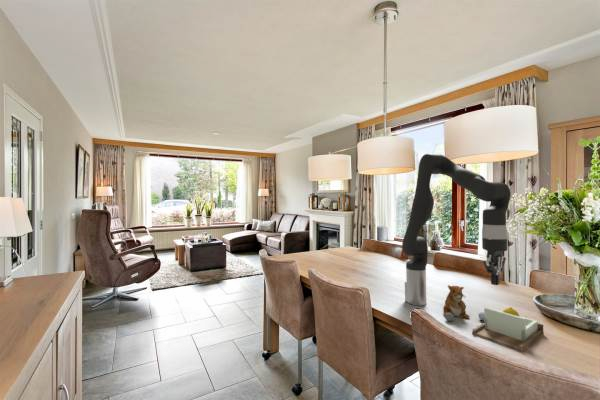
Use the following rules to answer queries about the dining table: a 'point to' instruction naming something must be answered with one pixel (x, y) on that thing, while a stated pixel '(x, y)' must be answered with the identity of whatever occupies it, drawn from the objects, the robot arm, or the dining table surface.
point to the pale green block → (509, 324)
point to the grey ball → (449, 316)
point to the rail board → (508, 340)
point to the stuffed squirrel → (455, 302)
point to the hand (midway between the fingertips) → (495, 284)
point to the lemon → (511, 311)
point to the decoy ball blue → (481, 316)
